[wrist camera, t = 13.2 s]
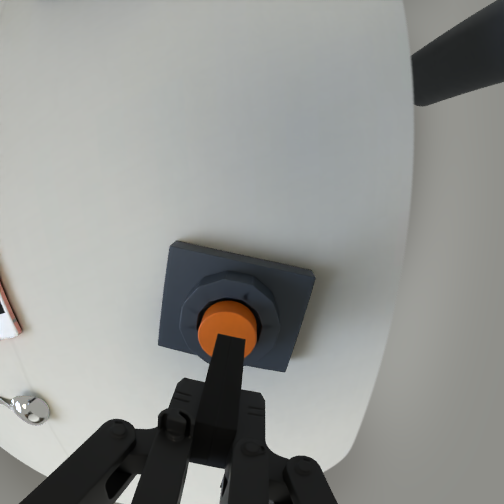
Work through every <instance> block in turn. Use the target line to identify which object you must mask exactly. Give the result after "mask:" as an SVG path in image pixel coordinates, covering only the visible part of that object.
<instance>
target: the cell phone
mask: <svg viewBox="0 0 504 504" xmlns="http://www.w3.org/2000/svg"><path fill="white" fill-rule="evenodd" d="M20 333H21V328H20V326H19V324H18V322H17V320H16V318H15V316H14V314H13V312H12V309H11V307H10V305H9V302H8V300H7V298H6V295H5V293H4V290H3V288H2V285H1V283H0V340H2V339H7V338H12V337H16V336H17V335H19V334H20Z"/></svg>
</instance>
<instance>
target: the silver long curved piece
mask: <svg viewBox="0 0 504 504" xmlns="http://www.w3.org/2000/svg"><path fill="white" fill-rule="evenodd" d="M1 405H4V406H7V407H8V408H10V409H11V410H12V411H13V412H14V413H15V414H16V415H17V416H18V417H20V418H21V419H22V420H23V421H25V422H26V423H28V424H31V425H35V426H39V425H42V424H44V423H45V422H46V421H47V419H48V417H49V407H48V405H47V404H46V403H45V402H44V401H43V400H42V399H40V398H37V397H32V396H17V397H14V398H13V400H12V402H11V404H8V403H6V402H5V401H4V400H2V399H1V398H0V406H1Z"/></svg>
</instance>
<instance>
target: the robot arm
mask: <svg viewBox="0 0 504 504" xmlns="http://www.w3.org/2000/svg"><path fill="white" fill-rule="evenodd" d="M245 342H246V339H242V338H237V337H232V336H228V335H223V334H219V333H218V334H217V338H216V342H215V346H214V350H213V354H212V357H211V361H210V365H209V369H208V373H207V377H206V381H205V382H201V381H196V380H192V379H188V378H183V379H182V380H181V381H180V382H178V383H177V386H176V389H175V392H174V394H173V397H172V399H171V402H170V405H169V408H168V409H165V410H163V411H161V413H160V414H159V415H158V427H156V428H153V429H135V428H134V427H133V425H131V424H130V423H129V422H127V421H124V420H122V419H113V420H109V421H107V422H105V423H104V424H103V425H102V426H101V427H100V428H99V429H98V430H97V431H96V432H95V433H94V434H93V435H92V436H91V437H90V438H88V439H87V440H86V441H85V442H84V443H83V444H82V445H81V446H80V447H79V448H78V449H77V450H76V451H75V452H74V453H73V454H72V455H71V456H70V457H69V458H68V459H66V460H65V461H64V462H63V463H62V464H61V465H60V466H59V467H58V468H57V469H56V470H55V471H54V472H53V473H52V474H51V475H49V476H48V477H47V478H46V479H45V480H44V481H43V482H42V483H41V484H40V485H39V486H38V487H37V488H36V489H35V490H34V491H32V492H31V493H30V494H29V495H28V496H27V497H26V498H25V499H24V500H23V501H21V502H20V503H19V504H114V503H115V501H116V500H117V499H118V498H119V496H120V495H121V494H122V493H123V491H124V490H125V489H126V488H127V486H128V485H129V484H130V482H131V481H132V480H133V479H134V477H135V476H136V475H137V474H141V477H140V480H139V483H138V486H137V488H136V491H135V494H134V497H133V500H132V503H131V504H180V501H181V496H182V492H183V488H184V483H185V479H186V474H187V469H188V464H189V462H193V463H197V464H202V465H207V466H212V467H217V468H222V469H225V474H224V477H223V480H222V483H221V486H220V488H222V489H221V496H220V504H338V503H337V501H336V499H335V497H334V495H333V493H332V491H331V489H330V487H329V485H328V483H327V481H326V478H325V477H324V475H323V472H322V470H321V468H320V466H319V464H318V463H317V462H316V461H315V460H313V459H312V458H310V457H307V456H295V457H292V458H291V459H290V460H289V459H287V458H284V457H281V456H279V455H276V454H275V453H273V452H272V451H271V450H270V449H269V448H268V447H267V445H266V442H265V400H264V398H263V396H262V395H261V393H259V392H253V391H247V390H242V389H241V384H242V373H243V363H244V352H245ZM225 466H226V467H225Z"/></svg>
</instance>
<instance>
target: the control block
mask: <svg viewBox="0 0 504 504" xmlns="http://www.w3.org/2000/svg"><path fill="white" fill-rule="evenodd" d="M315 279H316V277H315V276H314V274H313V272H312V270H309V269H304V268H299V267H295V266H290V265H286V264H281V263H276V262H272V261H267V260H263V259H258V258H253V257H249V256H244V255H240V254H235V253H231V252H226V251H222V250H217V249H212V248H208V247H203V246H199V245H194V244H190V243H185V242H181V241H175V242H174V243H173V244H172V245H170V248H169V255H168V262H167V269H166V276H165V284H164V292H163V300H162V309H161V318H160V328H159V339H158V345H159V346H163V347H166V348H170V349H174V350H178V351H182V352H186V353H190V354H194V355H198V356H199V357H200V358H202V359H203V360H204V361H206V362H207V363H209V364H210V361H211V356H210V355H208V354H207V353H206V352H205V351H204V350H203V348H202V347H201V345H200V343H199V340H198V330H199V326H200V324H201V321H202V318H203V316H204V313H205V312H206V310H207V309H208V308H209V307H210V306H212V305H213V304H215V303H217V302H221V301H235V302H239V303H241V304H243V305H245V306H246V307H248V308H249V309H250V310H251V312H252V313H253V314H254V316H255V318H256V322H257V341H256V345H255V347H254V349H253V350H252V352H251V353H250V354H249V355H248V356H246V357H245V358H244V363H243V366H251V367H256V368H262V369H268V370H274V371H280V372H286V369H287V366H288V363H289V360H290V357H291V354H292V351H293V348H294V345H295V342H296V339H297V336H298V333H299V330H300V327H301V324H302V321H303V318H304V315H305V311H306V308H307V305H308V302H309V299H310V295H311V292H312V289H313V285H314V282H315Z"/></svg>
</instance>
